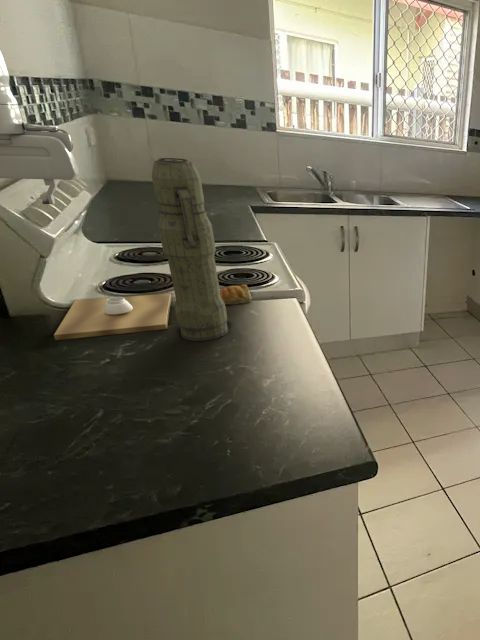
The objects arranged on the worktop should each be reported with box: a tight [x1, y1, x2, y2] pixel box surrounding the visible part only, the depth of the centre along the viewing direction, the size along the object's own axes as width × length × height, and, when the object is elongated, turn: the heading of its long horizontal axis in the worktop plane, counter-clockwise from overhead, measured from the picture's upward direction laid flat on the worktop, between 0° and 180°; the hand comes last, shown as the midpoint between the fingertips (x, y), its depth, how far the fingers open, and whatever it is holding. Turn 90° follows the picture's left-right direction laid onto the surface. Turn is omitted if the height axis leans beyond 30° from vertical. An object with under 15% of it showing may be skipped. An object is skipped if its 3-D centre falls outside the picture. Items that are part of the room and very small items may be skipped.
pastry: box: [220, 284, 252, 306], centre depth 117 cm, size 9×7×4 cm
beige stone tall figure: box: [151, 157, 229, 342], centre depth 94 cm, size 9×12×35 cm
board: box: [53, 293, 173, 341], centre depth 104 cm, size 18×20×1 cm
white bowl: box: [103, 296, 133, 315], centre depth 103 cm, size 5×3×5 cm
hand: (15, 203), depth 86 cm, fingers open, 8 cm apart
